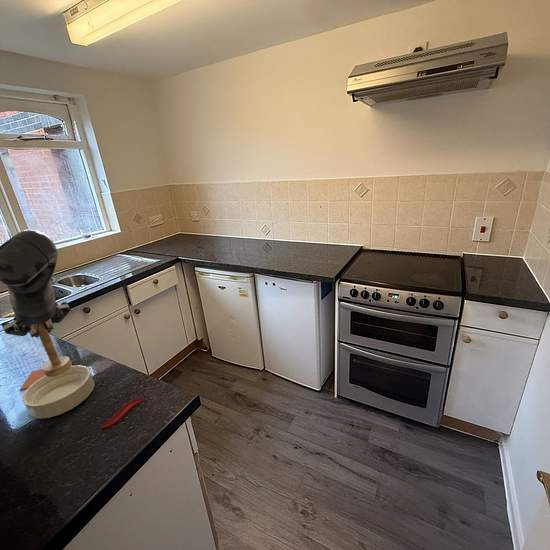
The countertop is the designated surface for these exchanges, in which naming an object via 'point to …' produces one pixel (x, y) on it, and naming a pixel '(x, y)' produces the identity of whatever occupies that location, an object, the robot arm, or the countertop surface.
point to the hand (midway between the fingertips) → (41, 332)
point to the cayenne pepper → (122, 412)
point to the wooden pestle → (52, 354)
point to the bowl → (58, 392)
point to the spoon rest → (32, 378)
